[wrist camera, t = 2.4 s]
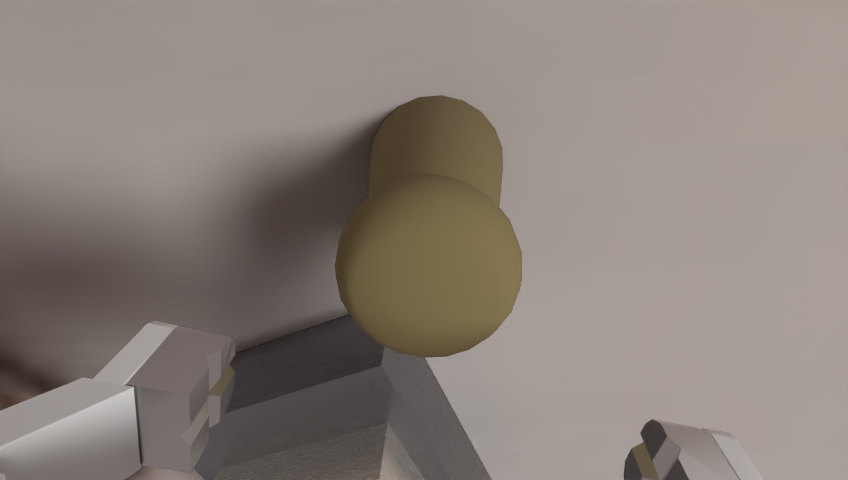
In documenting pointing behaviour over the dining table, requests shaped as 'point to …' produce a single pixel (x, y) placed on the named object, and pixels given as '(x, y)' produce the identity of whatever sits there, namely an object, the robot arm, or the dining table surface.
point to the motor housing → (336, 414)
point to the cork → (431, 234)
